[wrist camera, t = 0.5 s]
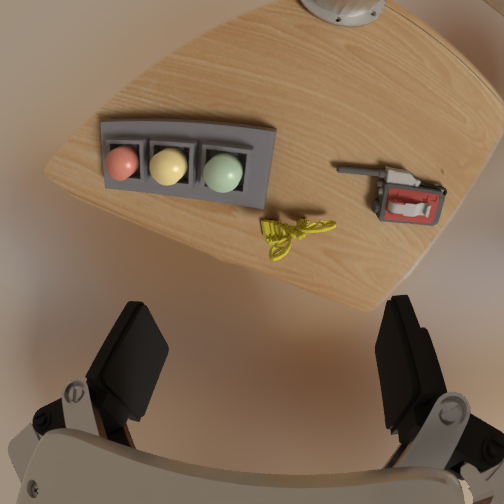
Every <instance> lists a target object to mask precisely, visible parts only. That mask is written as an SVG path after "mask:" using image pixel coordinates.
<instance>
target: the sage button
mask: <svg viewBox="0 0 504 504" xmlns="http://www.w3.org/2000/svg"><path fill="white" fill-rule="evenodd" d="M242 175H243V165H242V163H241V161H240V159H239V158H238V157H237V156H235V155H233V154H231V153H227V152H223V153H219V154H216V155H215V156H214V157H212V159H211V160H210V161H209V162H208V163H207V164H206V165H205V167H204V170H203V178H204V181H205V183H206V184H207V186H208V187H209V188H211V189H212V190H214V191H216V192H220V193H225V192H230V191H232V190H233V189H235V188H236V187H237V185H238V183H239V181H240V180H241V178H242Z"/></svg>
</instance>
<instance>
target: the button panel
mask: <svg viewBox="0 0 504 504" xmlns="http://www.w3.org/2000/svg"><path fill="white" fill-rule="evenodd" d="M100 123H101V146H102V160H103V171H104V181H105V188H109V189H119V190H128V191H137V192H146V193H154V194H162V195H170V196H178V197H185V198H192V199H199V200H206V201H213V202H220V203H226V204H233V205H239V206H245V207H251V208H257V209H263V210H264V206H265V201H266V195H267V189H268V182H269V176H270V169H271V163H272V156H273V150H274V143H275V137H276V130H277V129H275V128H269V127H262V126H255V125H247V124H239V123H230V122H219V121H208V120H193V119H172V118H119V119H109V120H106V121H103V122H100ZM122 145H129V146H131V147H133V148H134V149H135V150H136V151H137V153H138V155H139V159H140V164H139V168H138V170H137V171H136V172H135V173H134V174H132V175H131V176H129V177H128V178H127V179H125V180H122V181H118V180H115V179H113V178H112V177H110V176H109V174H108V173H107V171H106V168H105V158H106V156H107V154H108V153H109V152H110V151H112V150H114V149H116V148H118V147H120V146H122ZM168 147H175V148H178V149H180V150H181V151H182V152H183V153H184V154H185V155H186V157H187V160H188V169H187V172H186V173H185V175H184V176H183V177H182V178H180V179H179V180H178V181H177V182H176V183H175V184H173V185H162V184H159V183H158V182H157V181H155V180H154V178H153V177H152V175H151V173H150V168H149V166H150V161H151V159H152V157H153V156H154V155H155V154H157V153H159V152H160V151H162V150H163V149H165V148H168ZM223 152H227V153H231V154H233V155H235V156H237V157H238V158H239V159H240V161H241V163H242V165H243V175H242V178H241V180H240V181H239V183H238V185H237V187H236V188H235V189H233V190H232V191H230V192H225V193H220V192H216V191H214V190H212V189H211V188H209V187H208V186H207V184H206V183H205V181H204V178H203V170H204V167H205V165H206V164H207V163H208V162H209V161H210V160H211V159H212V157H214V156H215V155H216V154H219V153H223Z"/></svg>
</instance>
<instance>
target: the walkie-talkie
mask: <svg viewBox="0 0 504 504" xmlns="http://www.w3.org/2000/svg"><path fill="white" fill-rule="evenodd" d="M337 172H339V173H350V174H360V175H370V176H378V177H379V178H383V179H382V180H381V181H378V182H377V186H378V187H380V188H379V190H378V193H379V195H378V201H377V200H375V201H374V202H373V212H374V213H376V215H377V217H378V219H379V220H380V221H386V222H397V223H409V224H410V223H411V224H419V225H421V224H422V225H430V226H434V225H435V224H437V223H438V221H439V218H440V214H441V210H442V207H443V203H444V199H445V198H444V196H445V195H446V194H447V190H446V189H445V188H444V187H442V186H436V185H430V184H425V183H422V182H421V181H420V180H419V179H416V178H414V177H413V176H412V175H411V174H410V173H409V172H408V171H407V170H404V169H397V168H390V167H389V166H385V170H383V169H378V170H376V169H367V168H357V167H346V166H338V167H337ZM440 189H442V190H444V192H443V193H442V191H441V190H440Z"/></svg>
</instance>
